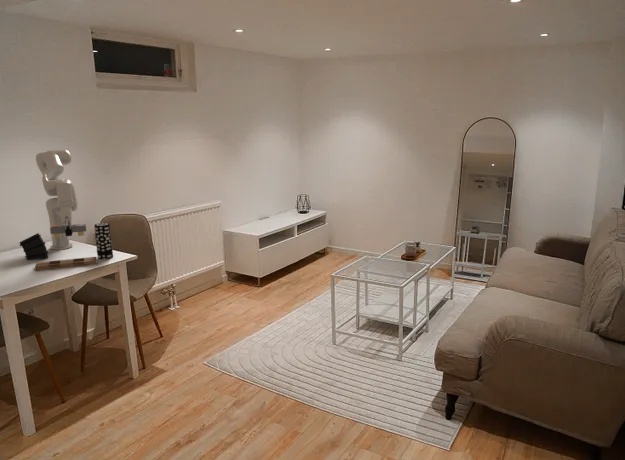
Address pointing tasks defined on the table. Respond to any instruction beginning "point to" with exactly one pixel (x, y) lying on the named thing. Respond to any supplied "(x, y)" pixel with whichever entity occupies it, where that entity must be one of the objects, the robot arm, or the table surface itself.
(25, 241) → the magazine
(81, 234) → the grey control box
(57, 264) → the rail
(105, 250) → the spotted tube
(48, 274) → the table surface
